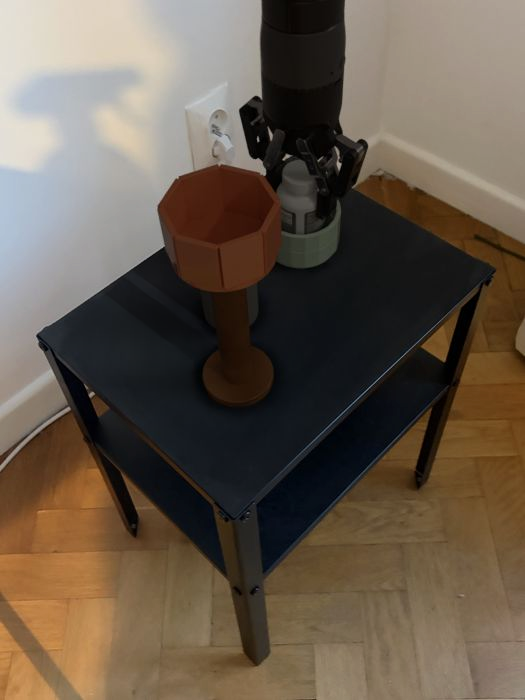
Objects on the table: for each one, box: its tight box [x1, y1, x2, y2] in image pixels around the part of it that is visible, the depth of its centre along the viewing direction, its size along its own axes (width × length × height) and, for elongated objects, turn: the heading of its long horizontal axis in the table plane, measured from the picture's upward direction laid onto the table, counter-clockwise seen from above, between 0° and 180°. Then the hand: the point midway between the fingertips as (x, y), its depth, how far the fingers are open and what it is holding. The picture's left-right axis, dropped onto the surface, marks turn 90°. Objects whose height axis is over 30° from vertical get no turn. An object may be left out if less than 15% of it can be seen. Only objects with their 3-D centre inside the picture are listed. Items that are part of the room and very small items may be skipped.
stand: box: [202, 288, 274, 408], centre depth 65 cm, size 7×7×18 cm
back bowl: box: [275, 198, 342, 269], centre depth 81 cm, size 9×9×5 cm
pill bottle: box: [276, 159, 326, 235], centre depth 79 cm, size 5×5×10 cm
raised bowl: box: [156, 163, 282, 292], centre depth 56 cm, size 9×9×5 cm
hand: (301, 203), depth 78 cm, fingers closed on pill bottle, 5 cm apart
